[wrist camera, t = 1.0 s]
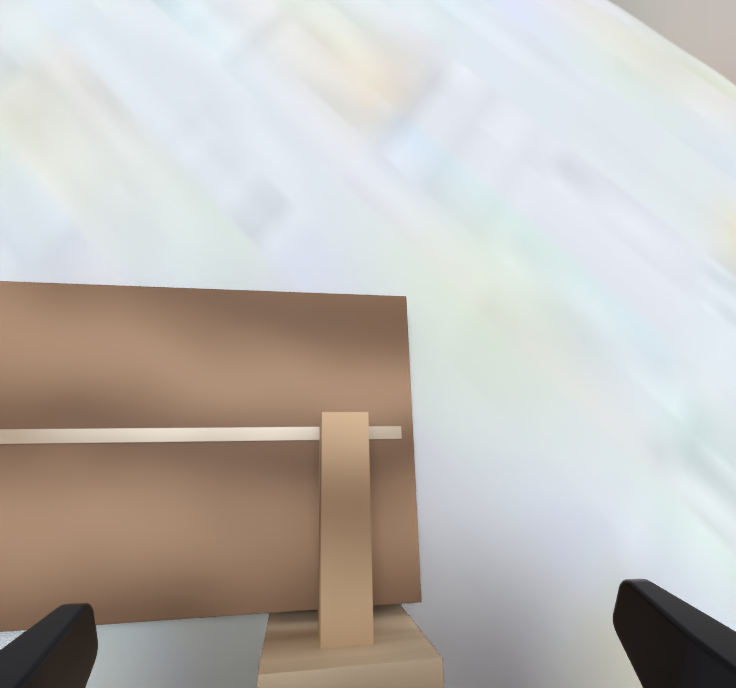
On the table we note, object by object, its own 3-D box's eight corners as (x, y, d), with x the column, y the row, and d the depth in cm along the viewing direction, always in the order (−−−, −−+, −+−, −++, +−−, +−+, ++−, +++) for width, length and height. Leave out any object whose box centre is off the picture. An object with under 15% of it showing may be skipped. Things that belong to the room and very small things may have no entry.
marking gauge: (400, 717, 17) (453, 841, 11) (266, 732, 16) (249, 873, 10) (390, 425, 20) (427, 405, 14) (276, 426, 19) (268, 406, 13)
